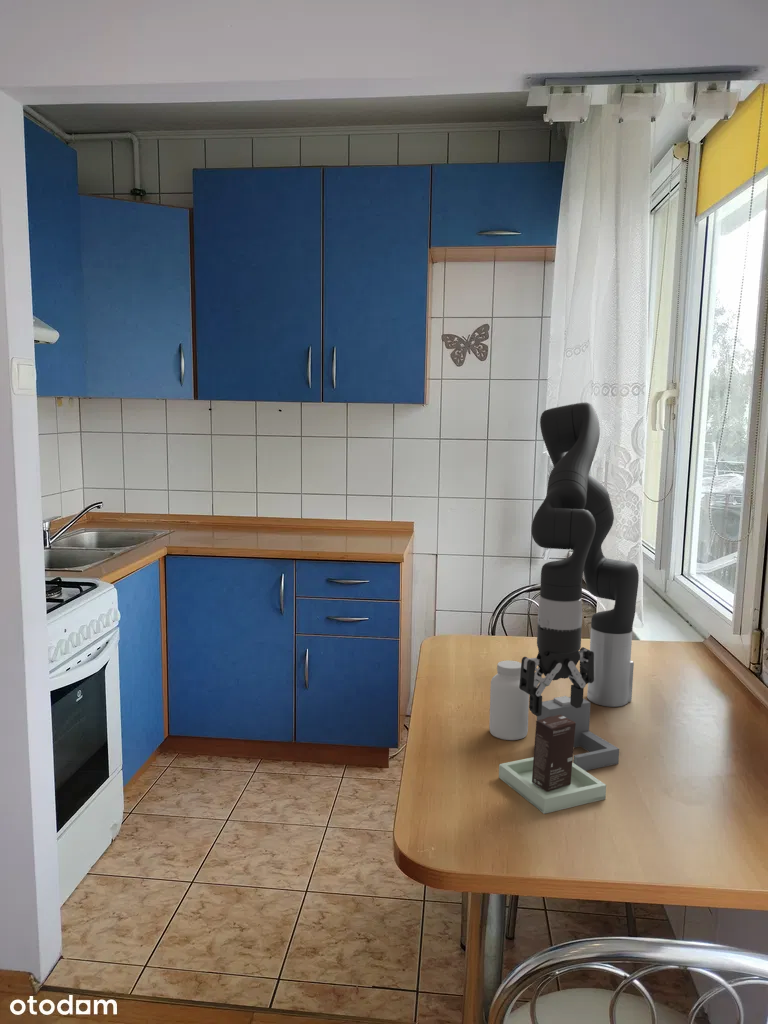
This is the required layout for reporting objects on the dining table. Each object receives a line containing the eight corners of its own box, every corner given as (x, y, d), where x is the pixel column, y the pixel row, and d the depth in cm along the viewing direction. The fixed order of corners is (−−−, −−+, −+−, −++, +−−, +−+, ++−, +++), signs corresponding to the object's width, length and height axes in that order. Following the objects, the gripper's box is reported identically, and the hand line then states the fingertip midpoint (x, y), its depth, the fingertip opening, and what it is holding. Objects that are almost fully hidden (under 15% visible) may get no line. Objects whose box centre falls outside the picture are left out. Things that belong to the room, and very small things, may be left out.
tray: (556, 765, 150) (557, 752, 150) (605, 799, 138) (606, 785, 137) (498, 777, 145) (499, 764, 145) (543, 813, 133) (544, 799, 132)
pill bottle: (481, 728, 167) (484, 660, 165) (514, 723, 170) (516, 656, 168) (501, 743, 160) (504, 672, 157) (535, 737, 163) (538, 667, 161)
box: (548, 793, 138) (551, 728, 136) (531, 783, 142) (533, 719, 140) (573, 785, 141) (576, 721, 140) (555, 775, 145) (558, 712, 143)
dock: (575, 737, 163) (578, 692, 162) (618, 763, 152) (621, 715, 150) (535, 744, 159) (537, 699, 158) (576, 772, 147) (578, 723, 146)
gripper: (578, 612, 143) (575, 696, 146) (513, 620, 137) (510, 709, 140) (606, 622, 137) (602, 711, 139) (538, 632, 131) (535, 725, 133)
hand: (556, 710), depth 139 cm, fingers open, 8 cm apart
